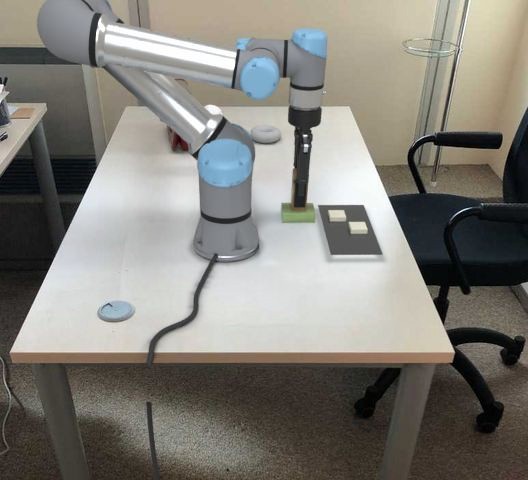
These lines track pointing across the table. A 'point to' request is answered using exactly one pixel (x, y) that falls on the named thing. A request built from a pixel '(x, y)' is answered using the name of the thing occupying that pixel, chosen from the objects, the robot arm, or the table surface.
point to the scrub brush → (297, 208)
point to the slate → (341, 236)
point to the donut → (265, 134)
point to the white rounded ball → (213, 109)
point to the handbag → (173, 136)
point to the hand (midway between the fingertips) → (298, 202)
